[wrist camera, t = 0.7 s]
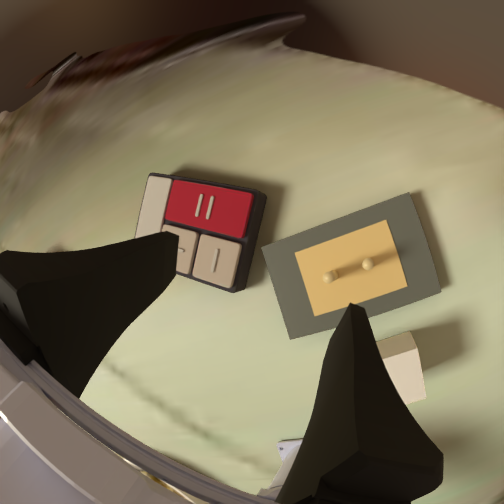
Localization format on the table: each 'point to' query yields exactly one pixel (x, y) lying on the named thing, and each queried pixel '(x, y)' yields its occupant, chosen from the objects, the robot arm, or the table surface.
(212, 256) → the calculator
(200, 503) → the bowl
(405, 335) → the block
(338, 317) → the board
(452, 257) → the table surface
